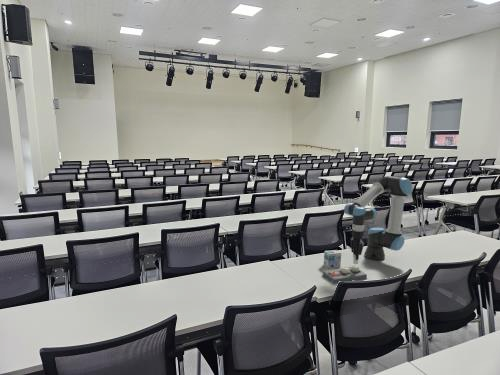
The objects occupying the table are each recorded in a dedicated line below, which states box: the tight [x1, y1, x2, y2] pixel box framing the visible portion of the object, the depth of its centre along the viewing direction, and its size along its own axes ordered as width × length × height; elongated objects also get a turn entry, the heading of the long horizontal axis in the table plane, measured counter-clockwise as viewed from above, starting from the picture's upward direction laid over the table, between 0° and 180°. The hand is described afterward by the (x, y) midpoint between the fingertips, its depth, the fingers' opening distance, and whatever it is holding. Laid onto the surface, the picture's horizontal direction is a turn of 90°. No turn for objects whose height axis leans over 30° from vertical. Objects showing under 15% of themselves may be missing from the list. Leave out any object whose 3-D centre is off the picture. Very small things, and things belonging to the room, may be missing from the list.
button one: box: [351, 264, 360, 273], centre depth 223 cm, size 5×5×3 cm
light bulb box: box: [323, 249, 342, 269], centre depth 238 cm, size 11×7×11 cm, turn 105°
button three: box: [330, 271, 338, 277], centre depth 218 cm, size 5×5×3 cm
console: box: [322, 266, 368, 285], centre depth 220 cm, size 25×14×3 cm, turn 109°
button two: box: [340, 266, 349, 274], centre depth 220 cm, size 5×5×3 cm
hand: (355, 263), depth 222 cm, fingers closed
